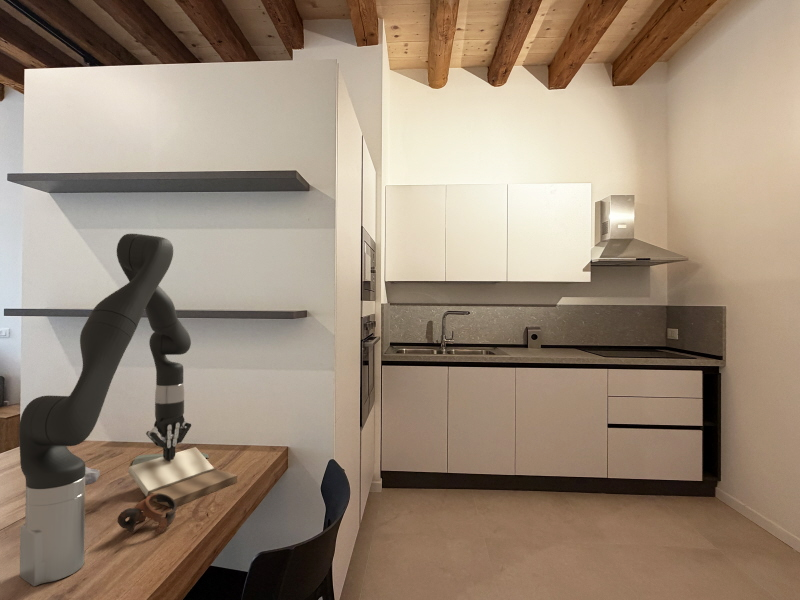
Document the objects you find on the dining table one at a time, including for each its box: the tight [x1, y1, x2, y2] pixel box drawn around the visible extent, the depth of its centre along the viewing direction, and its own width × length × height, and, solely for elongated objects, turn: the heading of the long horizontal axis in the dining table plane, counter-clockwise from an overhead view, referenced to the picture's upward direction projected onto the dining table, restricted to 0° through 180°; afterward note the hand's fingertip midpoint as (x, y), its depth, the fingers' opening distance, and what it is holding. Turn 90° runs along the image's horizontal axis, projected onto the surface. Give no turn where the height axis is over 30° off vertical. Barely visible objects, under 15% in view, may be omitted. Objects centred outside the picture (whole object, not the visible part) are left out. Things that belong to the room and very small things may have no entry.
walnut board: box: [149, 467, 238, 508], centre depth 127 cm, size 20×10×2 cm, turn 149°
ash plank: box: [128, 446, 215, 498], centre depth 133 cm, size 20×10×2 cm, turn 149°
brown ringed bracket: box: [117, 493, 178, 534], centre depth 105 cm, size 12×10×8 cm
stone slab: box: [131, 452, 210, 466], centre depth 153 cm, size 22×3×10 cm
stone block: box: [85, 465, 100, 486], centre depth 133 cm, size 12×5×10 cm
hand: (169, 459), depth 134 cm, fingers closed
